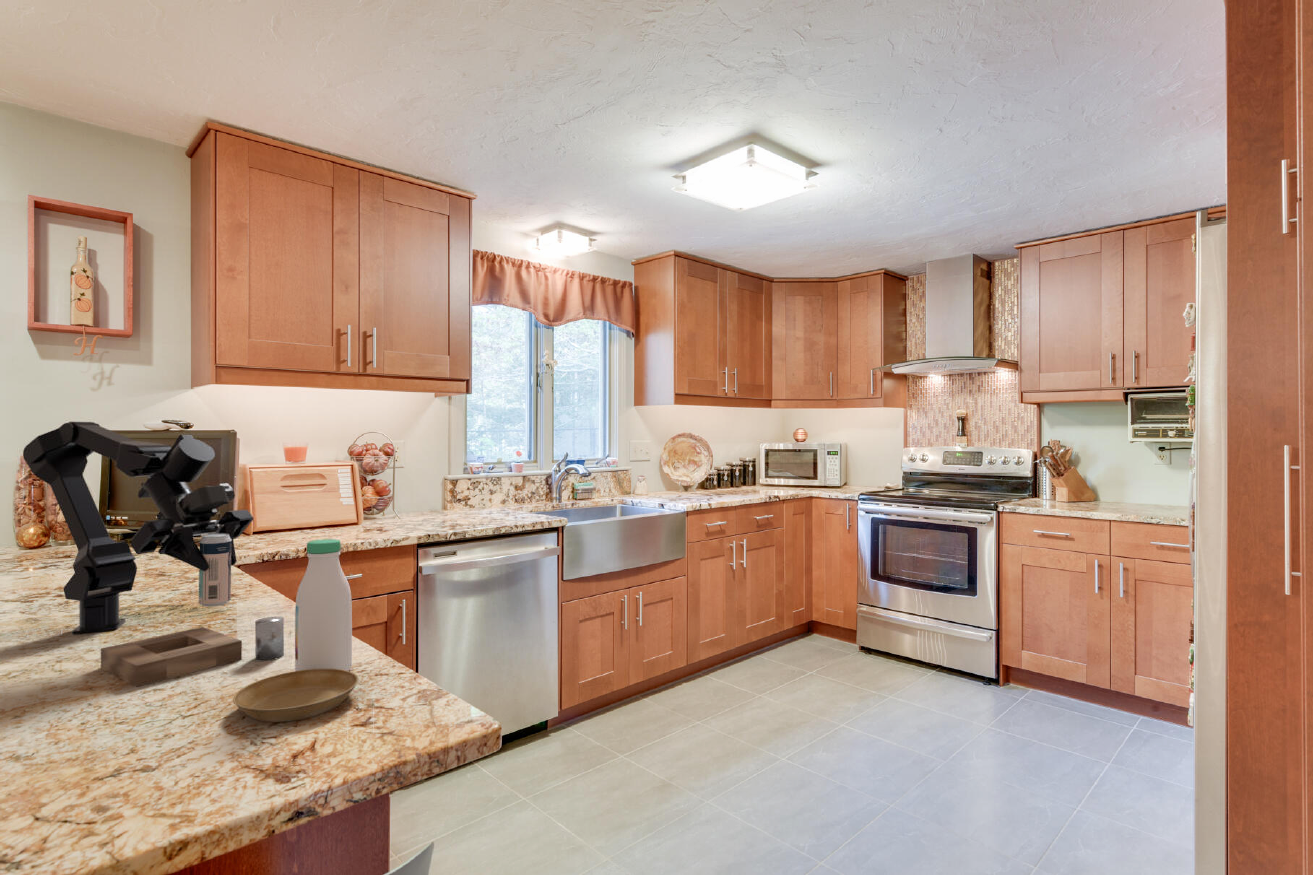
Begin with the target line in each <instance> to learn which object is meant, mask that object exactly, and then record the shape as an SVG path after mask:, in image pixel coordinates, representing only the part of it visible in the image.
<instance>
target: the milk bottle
mask: <svg viewBox="0 0 1313 875" xmlns="http://www.w3.org/2000/svg"><path fill="white" fill-rule="evenodd" d="M341 543H342V542H341V540H340V539H331V538H329V539H328V538H327V539H326V538H325V539H315V540H310V541H308V542H307V543H306V557H307V558H308V563H307V567H306V570H305V573H304V575H303V577H302V579H301V581H300V584H299V585H298V588H297V592H296V598H295V612H294V618H295V619H294V622H295V623H294V647H295V648H294V651H295V652H294V659H295V660H294V667H295V668H294V669H295V670H294V671H300V670H309V669H341V670H347V671H349V670H351V668H352V665H353V664H352V663H353V638H352V637H353V621H352V620H353V615H352V614H353V613H352V612H353V609H352V608H353V607H352V605H353V604H352V592H351V587H350V584H349V581H348V579H347V577H346V575H345V573H344V570H343V569H342V566H341V563H340V555H341V549H342V548H341V546H342V545H341Z"/></svg>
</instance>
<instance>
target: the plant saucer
mask: <svg viewBox="0 0 1313 875" xmlns="http://www.w3.org/2000/svg"><path fill="white" fill-rule="evenodd" d="M359 679H360V678H359V676H358V674H356V673H355V672H352V671H347V670H341V669H309V670H300V671H295V670H294V671H288V672H285V673H281V674H275V675H273V676H269V677H266V678H262V679H260V680H256V681H254V682H252V683H250V684H248V685H246V686H244V687H242V688H240V689H239V690H238V691H237V692H236V693H235V694H234V695H233V697H232V702H233V704H234V705H235V706H236V707H238V709H239V710H241V711H242V712H243V713H245V715H247V716H249V717H250V718H253V719H255V720H258V721H262V722H269V723H270V722H271V723H273V722H274V723H281V722H291V721H298V720H303V719H308V718H312V717H315V716H318V715H319V716H320V715H321V714H324V713H326V712H329V711H331V710H333V709H335V708H337V706H339V705H340V704H342V703H343V701H345V700H346V698H347V697H348V696H349V695H350V694H351V693H352V692H353V690H354V689H355V688H356V686H357V684H358V683H359Z"/></svg>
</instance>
